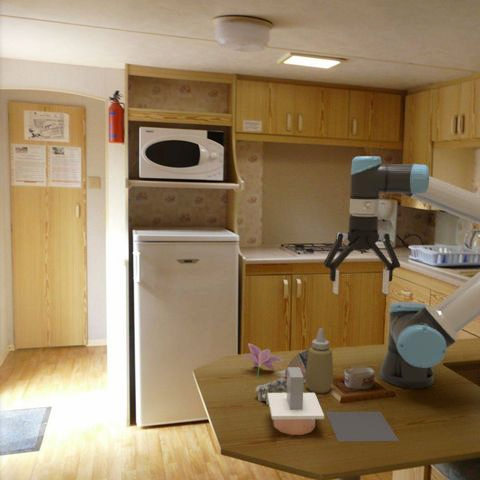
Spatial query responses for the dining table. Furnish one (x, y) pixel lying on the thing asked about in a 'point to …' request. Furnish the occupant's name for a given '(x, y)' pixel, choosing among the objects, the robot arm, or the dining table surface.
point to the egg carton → (271, 389)
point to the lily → (262, 357)
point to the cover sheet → (294, 414)
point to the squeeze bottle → (319, 365)
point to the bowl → (294, 426)
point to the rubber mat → (360, 426)
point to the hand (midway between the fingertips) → (360, 293)
